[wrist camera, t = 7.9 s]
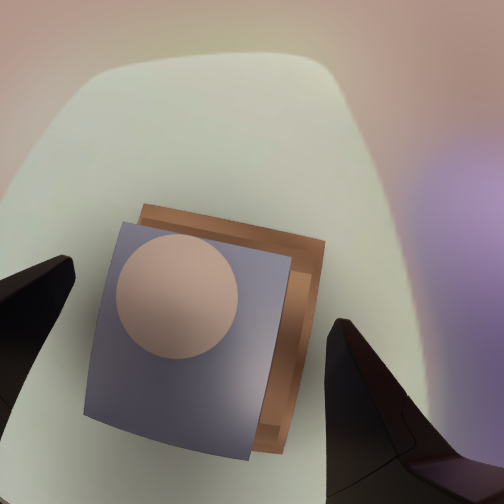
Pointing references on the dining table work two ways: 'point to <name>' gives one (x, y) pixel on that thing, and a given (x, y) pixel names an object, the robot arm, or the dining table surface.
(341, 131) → the dining table surface
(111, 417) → the block
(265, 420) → the wooden socket base
